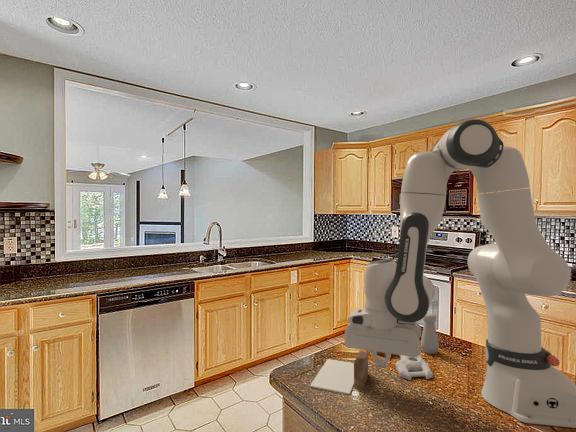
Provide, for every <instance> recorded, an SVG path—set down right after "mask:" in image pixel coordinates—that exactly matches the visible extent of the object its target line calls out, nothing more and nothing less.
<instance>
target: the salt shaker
mask: <svg viewBox="0 0 576 432" xmlns="http://www.w3.org/2000/svg"><path fill="white" fill-rule="evenodd" d="M422 320H423V321H424V322H423V328H422V332H421V340H420V348H421V349H422V351H423V352H424V353H425V354H427V355H434V354H437V352H438V351H439V347H440V345H439V340H438V339H439V338H438V334H437V330H436V325H435V323H436V321H437V316H436V314H434V313H431V312H427V314H426V315H425V317H424V318H422Z"/></svg>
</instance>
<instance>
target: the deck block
mask: <svg viewBox="0 0 576 432" xmlns="http://www.w3.org/2000/svg"><path fill="white" fill-rule="evenodd" d="M353 363H354V385H353V388H357V389H364V387H365V384H366V381H367V378H368V377H369V376H368V375H369V352H368V351H365V350H359V352H358V354H357V356H356V358H355V360H354V362H353Z"/></svg>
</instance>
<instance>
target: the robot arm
mask: <svg viewBox="0 0 576 432" xmlns="http://www.w3.org/2000/svg"><path fill="white" fill-rule="evenodd" d="M525 163H526V162H525V160H524V157H523V155H522V154H521V152H520V150H518V149H517V148H515V147H511V146H505V145H504V142H503V140H502V139H501V138H500V137H499V135H498V133H497V131H496V129H495V128H494V127H493V126H492V124H490V123H489V122H487V121H486V120H483V119H477V118H476V119H473V118H472V119H467V120H464V121H462V122H459V123H457V124H456V125H455V126H453V127H451V128H450V129H448V130H447V131H446V132H445V133H444V134H443V135H442V136H441V138H439V139H438V140H437V141H436V143H434V145H433V146H432V148H431V150H430V151H420V152H416V153H415V154H413V155H411V156H410V157H409V158H408V160H407V162H406V164H405V168H404V173H403V177H402V182H401V189H400V199H399V200H400V201H399V203H400V204H399V206H400V207H399V214H400V215H399V217H400V218H399V219H400V223H399V225H400V228H399V233H400V234H399V242H398V248H397V249H398V251H397V256H396V257H397V259H396V261H395V260H393V259H386V258H385V259H378V260H373V261H371V262H370V263H368V264H367V265H366V267H365V274H364V286H363V287H364V289H363V290H364V294H365V302H364V307H363V308H359V309H356V310H353V311H351V312H350V313H349V316H348V319H347V320H348V324H347V325H346V327H345V330H344V345H345V346H346V347H347V348H348V349H350V348H351V349H356V350H361V351H370V352H371V351H372V352H371V356H372V358H373V359H374V361H375V367H376V368H382V369H387V368H388V362H389V360H390V359H391V357H392V356H391V355H398V356H400V355H403V356H410V357H418V356H419V355H421V343H420V338H421V337H422V327H421V325H420V324H419V323H417V322H419V321H421V320H423V318H424V317H425V315H426V314H427V313H429V312H428V311H429V308H430V305H431V304H432V301H433V300H434V297H435V294H436V293H435V292H436V291H435V290H436V289H435V286H434V284H433V282H432V281H431V280H430V279H429V278H428V277H427V276H426V275H424V274H425V267H426V265H425V264H426V257H427V256H426V255H427V250H428V249H427V248H428V244H429V241H430V238H431V236H432V235H433V233H434V231H435V230H436V228H437V227H438V226H439V224H440V223H441V220H442V218H443V214H444V211H445V207H446V202H447V201H446V200H447V190H448V189H447V188H448V187H447V183H448V181H449V178H450V176H451V174H452V173H457V172H460V171H465V170H468V171H470V172H471V173H472V176H473V177H474V178H475V182H476V189H477V190H476V191H477V198H478V206H479V207H478V208H479V215H480V222H481V224H482V226H483V227H484V228H485V229H486V230H487V231H488V232H489V234H491V235H492V238H493V240H494V241H495V243H490V244H483V245H478V246H475V248H473V249H471V251H470V253H469V254H468V257H467V267H468V270H469V271H470V273H471V275H472V276H473V277H474V278H475V280H476V282H477V284H478V287H479V289H480V292H481V294H482V297H483V301H484V305H485V309H486V319H487V320H486V323H487V324H486V325H487V338H486V341H485V347H484V348H485V350H484V351H485V352H484V353H485V354H484V355H485V361H486V363H487V364H486V371H485V372H486V373H485V378H484V383H483V386H482V388H481V396H482V398H483V399H484V401H486V402H487V403H488V404H490V405H491V406H493V407H494V408H496V409H498V410H500V411H502V412H505V413H506V414H509V415H510V416H512V417H513V418H515V419H517V420H518V421H519V422H523V424H524V423H525V424H532V425H545V426H552V427H562V428H563V427H564V428H573V429H576V383H574V382H573V381H572V380H571V379H570V378H569V377H567V376H566V375H564V374H563V372H561V371H560V370H558V369H557V368H556V367H558V366H560V364H561V362H560V360H559V359H558V357H557V356H555V355H554V354H552V353H551V352H550V351H549V350H546V348H544V347H543V346H542V321H541V317H540V315H539V313H538V311H536V309H535V308H534V307H533V306H532V305H531V303H530V301H529V300H528V298H527V295H529V296H535V297H536V296H539V297H554V296H557V295H559V294H561V293H563V292H564V291H565V290H566V288H567V287H568V286H569V283H570V280H571V269H570V266H569V264H568V262H567V261H566V260H565V259H564V258H563V257H562V256H561V255H559V254H558V253H557V252H556V251H555V250H554V249H552V247H551V246H550V245H549V243H548V242H547V241H546V239H545V237H544V236H543V234H542V232H541V230H540V228H539V226H538V224H537V220H536V217H535V212H534V207H533V206H534V205H533V200H532V192H531V184H530V179H529V174H528V170H527V166H526V164H525ZM377 352H383V353H385V355H384V356H385V358H384V359H382V358H379V356H378V354H377Z"/></svg>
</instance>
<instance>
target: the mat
mask: <svg viewBox="0 0 576 432" xmlns="http://www.w3.org/2000/svg"><path fill="white" fill-rule="evenodd" d="M309 388H313V389H320V390H323V391H329V392H334V393H338V394H343V395H348V396H349V395H351V393H352V390H353V388H354V362H349V361H343V360H337V359H330V358H327V359H326V361H325V362H324V364H323V365H322V367H321V368H320V370H319V371H318V373H317V375H316V376H315V377H314V379H313V380H312V381H311V383H310V385H309Z"/></svg>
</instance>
